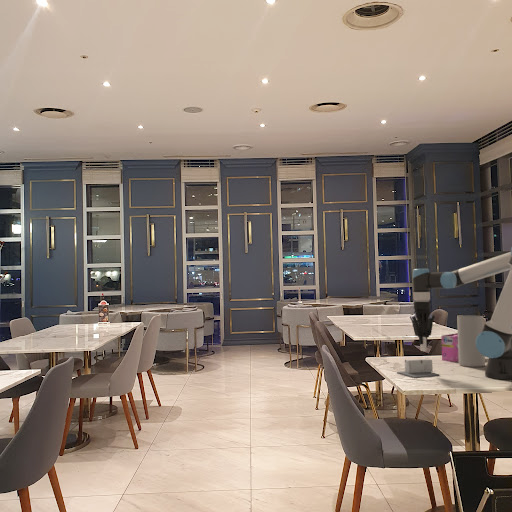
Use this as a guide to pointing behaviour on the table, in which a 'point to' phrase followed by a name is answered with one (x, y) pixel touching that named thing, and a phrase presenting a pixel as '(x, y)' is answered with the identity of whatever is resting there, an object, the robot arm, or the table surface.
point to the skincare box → (418, 365)
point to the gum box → (450, 347)
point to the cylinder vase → (469, 340)
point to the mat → (418, 374)
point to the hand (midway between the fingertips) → (423, 350)
